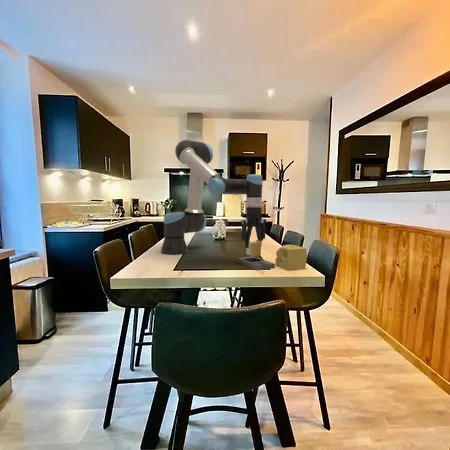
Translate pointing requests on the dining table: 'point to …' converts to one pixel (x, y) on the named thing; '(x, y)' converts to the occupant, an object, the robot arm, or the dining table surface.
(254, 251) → the yellow cube
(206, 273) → the dining table surface
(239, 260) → the metal plate
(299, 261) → the cheese
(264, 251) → the dining table surface
